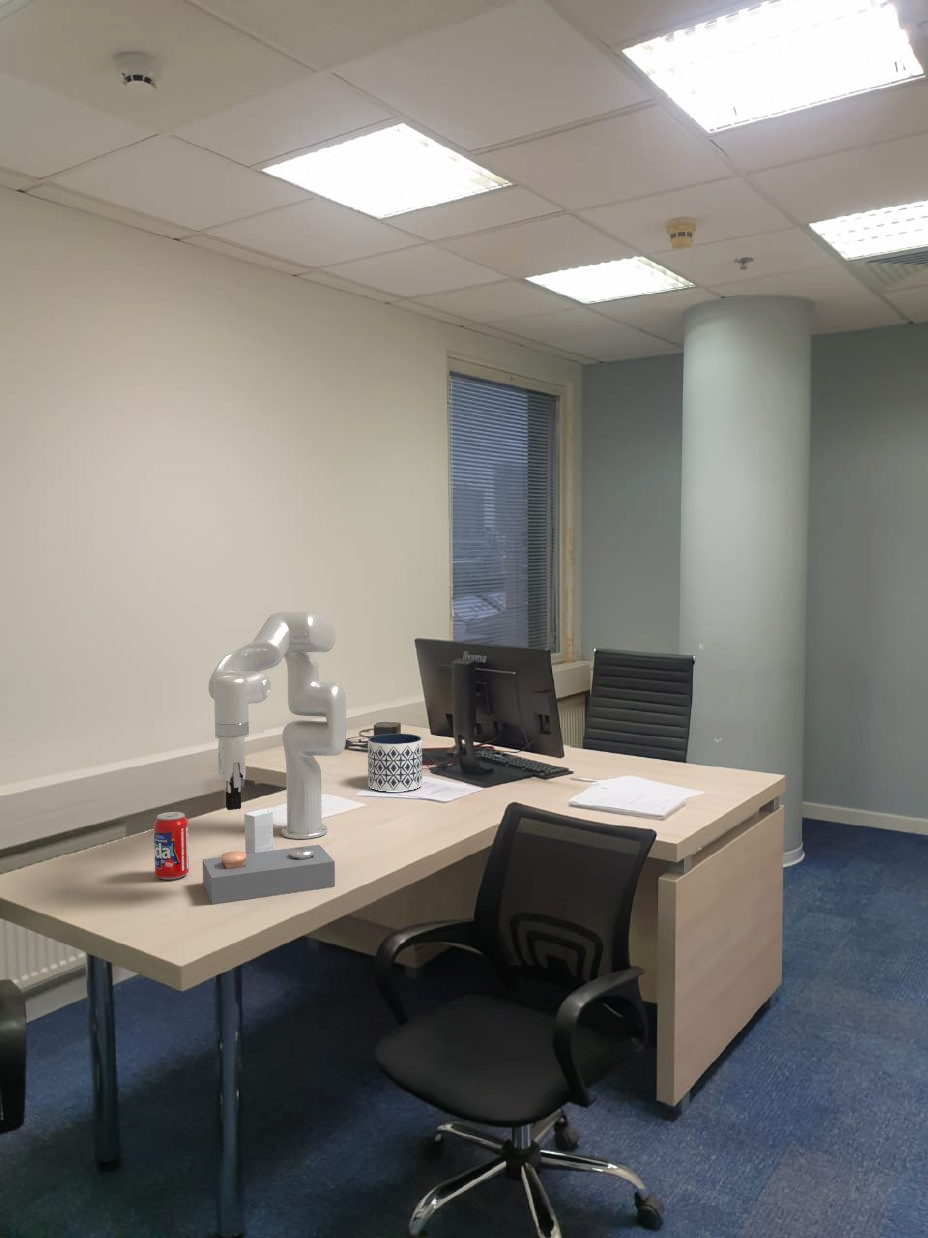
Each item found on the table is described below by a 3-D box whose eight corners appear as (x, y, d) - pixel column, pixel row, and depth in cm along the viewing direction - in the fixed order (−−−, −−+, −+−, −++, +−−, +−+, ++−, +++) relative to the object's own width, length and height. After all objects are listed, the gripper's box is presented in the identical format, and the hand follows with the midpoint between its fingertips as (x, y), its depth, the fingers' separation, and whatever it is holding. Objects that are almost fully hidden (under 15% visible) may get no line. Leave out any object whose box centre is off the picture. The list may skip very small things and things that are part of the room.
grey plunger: (287, 874, 223) (287, 849, 222) (310, 871, 225) (310, 846, 225) (293, 881, 218) (293, 855, 217) (316, 878, 220) (316, 852, 219)
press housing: (203, 884, 219) (202, 859, 218) (319, 868, 230) (319, 844, 230) (212, 904, 206) (211, 878, 206) (334, 886, 217) (334, 861, 217)
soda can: (195, 875, 225) (194, 814, 224) (166, 884, 219) (164, 821, 218) (177, 868, 230) (176, 809, 229) (148, 876, 224) (147, 815, 223)
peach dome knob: (219, 879, 216) (219, 853, 216) (244, 876, 218) (243, 850, 218) (223, 887, 211) (223, 860, 211) (248, 883, 213) (248, 857, 213)
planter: (416, 794, 303) (415, 744, 302) (361, 792, 306) (361, 743, 304) (427, 781, 321) (426, 734, 320) (375, 779, 323) (375, 732, 322)
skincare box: (263, 853, 242) (262, 808, 241) (274, 857, 239) (273, 811, 238) (244, 859, 237) (243, 813, 236) (255, 863, 234) (254, 816, 234)
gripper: (210, 725, 218) (211, 802, 219) (220, 737, 204) (222, 819, 206) (242, 723, 221) (244, 799, 222) (254, 734, 207) (256, 815, 209)
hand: (233, 808), depth 214 cm, fingers closed
